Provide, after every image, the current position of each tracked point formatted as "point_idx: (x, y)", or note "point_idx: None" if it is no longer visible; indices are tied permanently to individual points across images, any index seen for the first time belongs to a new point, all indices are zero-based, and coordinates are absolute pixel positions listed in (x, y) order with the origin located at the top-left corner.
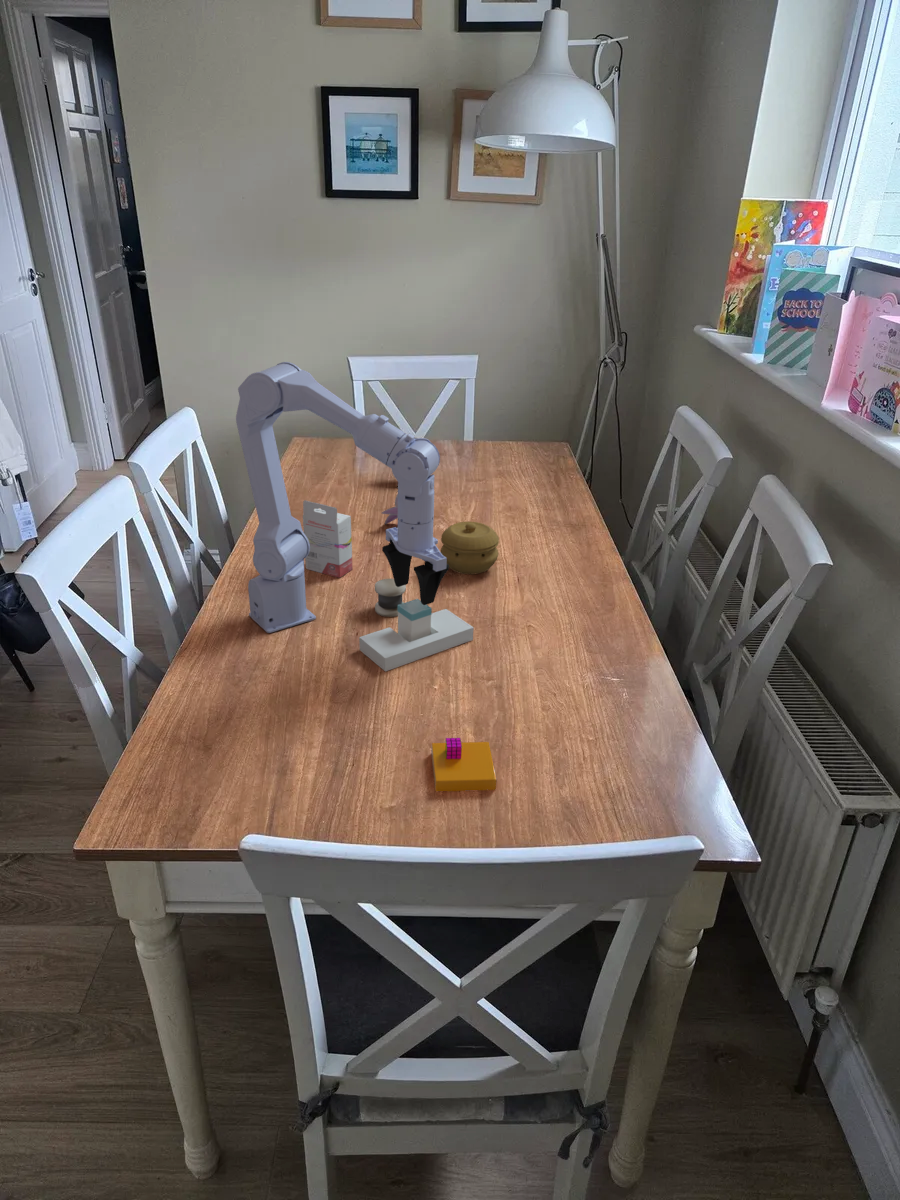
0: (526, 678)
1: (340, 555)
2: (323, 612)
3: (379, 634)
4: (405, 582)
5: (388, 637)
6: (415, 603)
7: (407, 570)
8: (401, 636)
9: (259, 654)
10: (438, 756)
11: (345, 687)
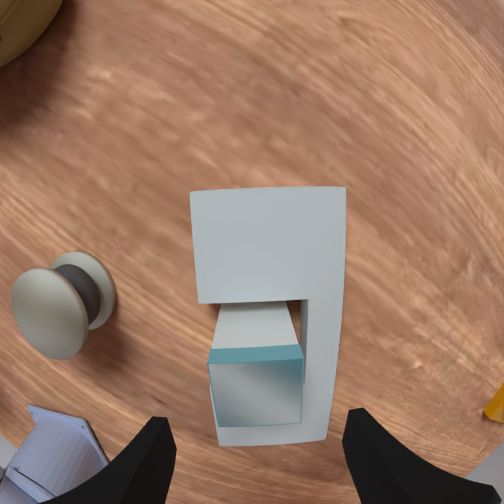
0: (494, 197)
1: None
2: (63, 396)
3: None
4: (168, 433)
5: None
6: (237, 384)
7: (149, 464)
8: None
9: None
10: (502, 417)
11: (315, 467)
